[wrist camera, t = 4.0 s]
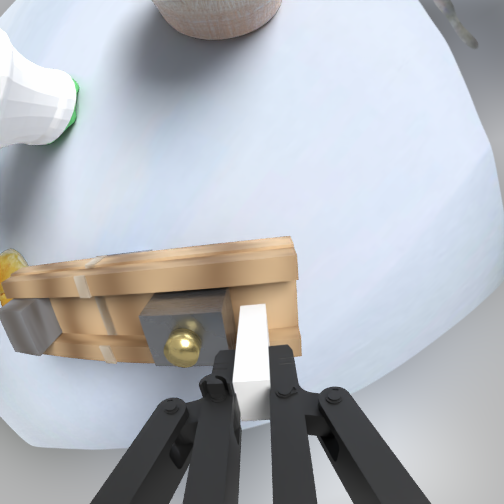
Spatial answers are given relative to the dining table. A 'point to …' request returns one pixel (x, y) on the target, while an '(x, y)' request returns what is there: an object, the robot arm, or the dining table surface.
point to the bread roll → (9, 269)
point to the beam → (144, 296)
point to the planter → (217, 16)
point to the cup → (32, 99)
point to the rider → (188, 326)
